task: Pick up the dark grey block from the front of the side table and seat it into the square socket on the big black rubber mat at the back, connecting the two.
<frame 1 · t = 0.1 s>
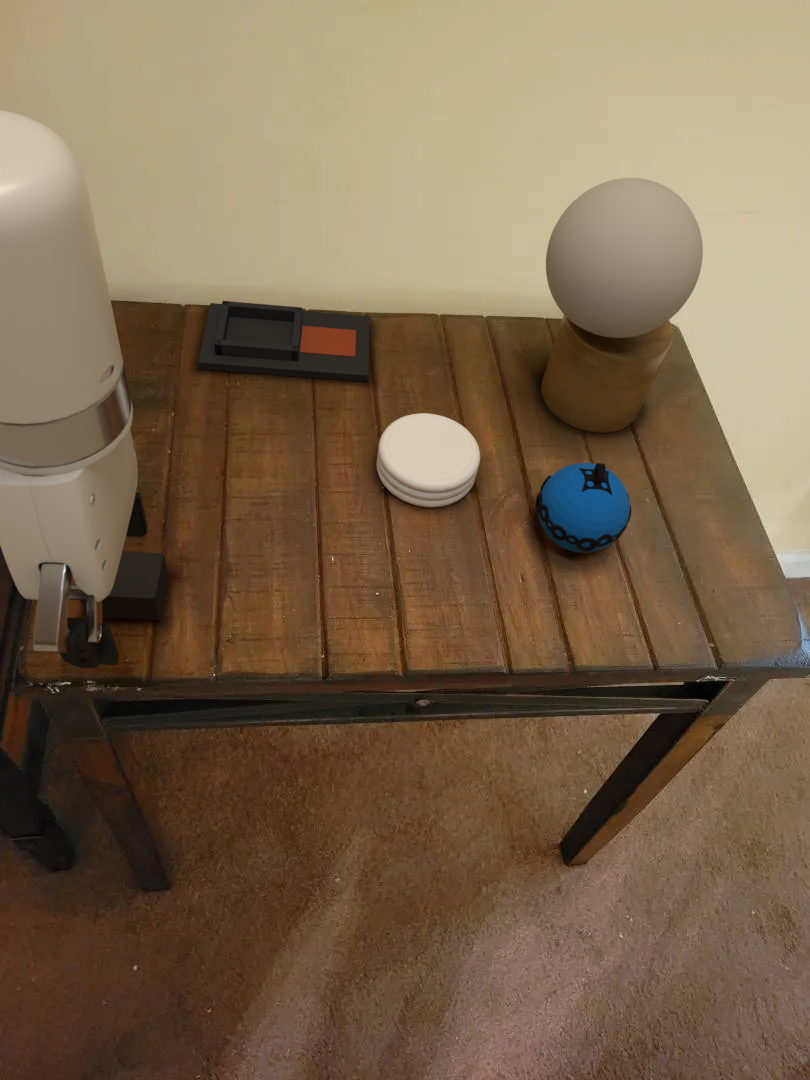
hand: (108, 592, 53), 15 cm above the table, tool pointing down, fingers open, 9 cm apart
coaster: (425, 472, 82), on the table
dark grey block: (128, 596, 70), on the table
lamp: (573, 401, 91), on the table
ornament: (570, 536, 80), on the table
base pad: (287, 345, 91), on the table
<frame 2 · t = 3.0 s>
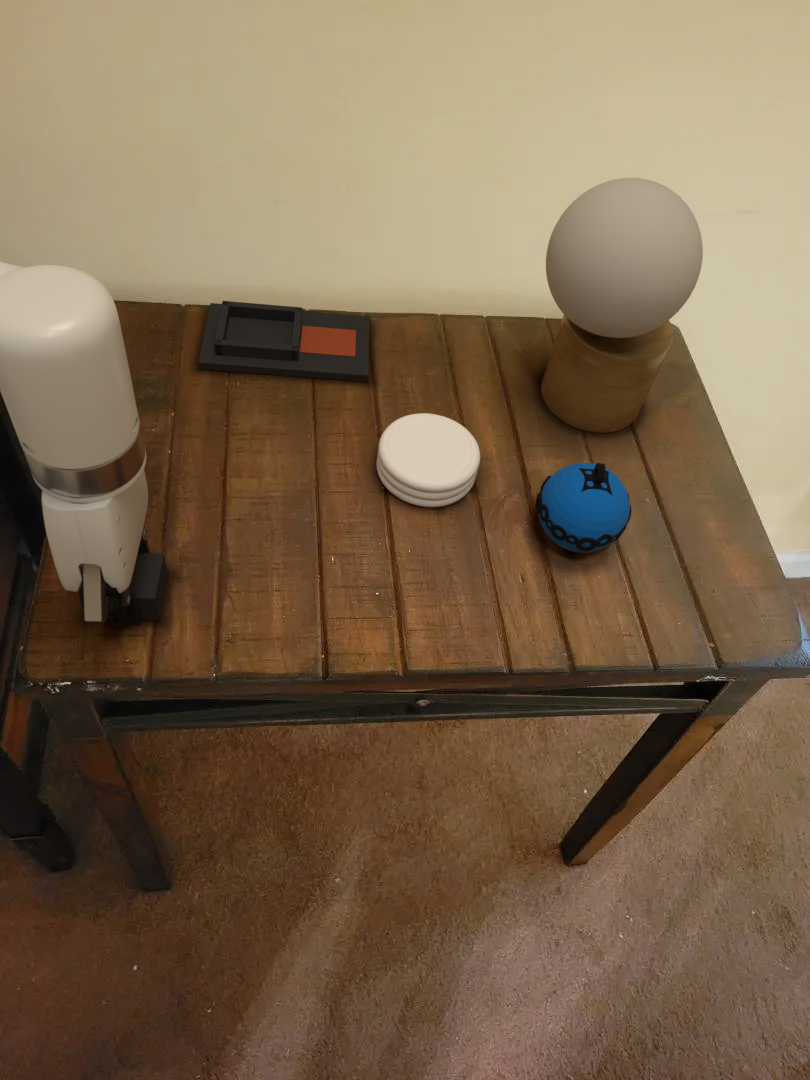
hand: (127, 592, 69), 1 cm above the table, tool pointing down, fingers closed on dark grey block, 4 cm apart
dark grey block: (128, 596, 70), on the table, touching gripper
everything else where it was.
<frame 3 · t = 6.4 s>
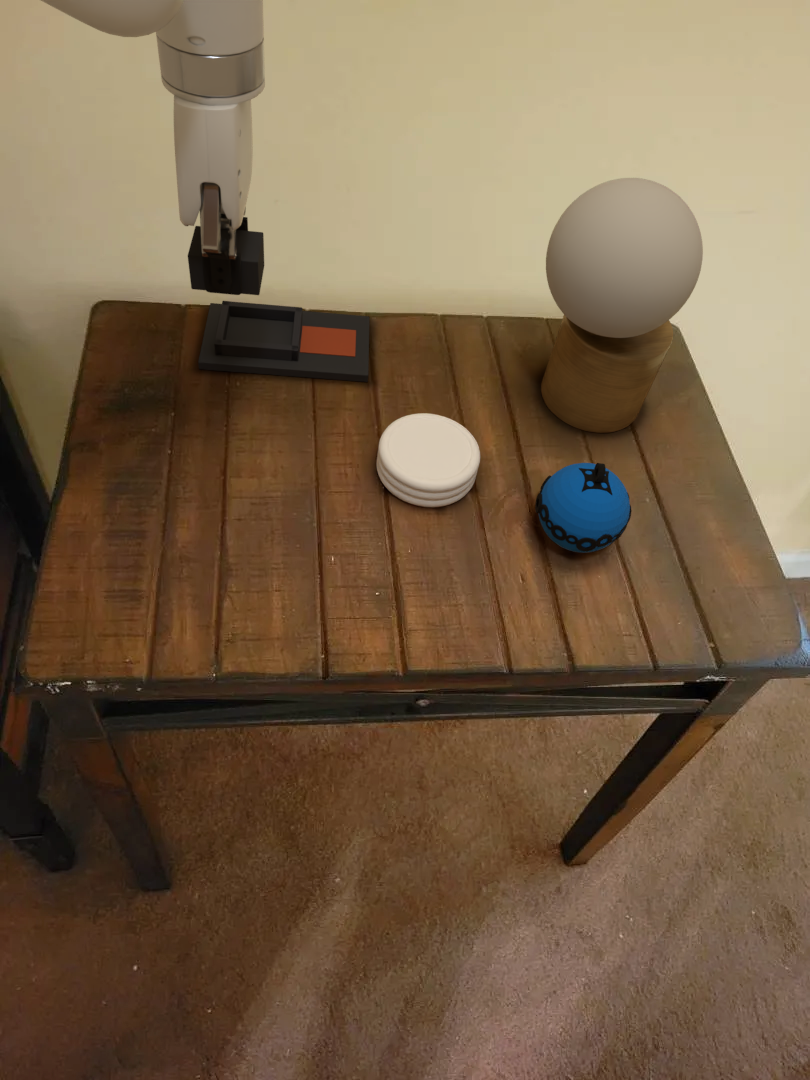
hand: (227, 271, 74), 15 cm above the table, tool pointing down, fingers closed on dark grey block, 4 cm apart
dark grey block: (228, 277, 75), point 14 cm above the table, touching gripper
everything else where it was.
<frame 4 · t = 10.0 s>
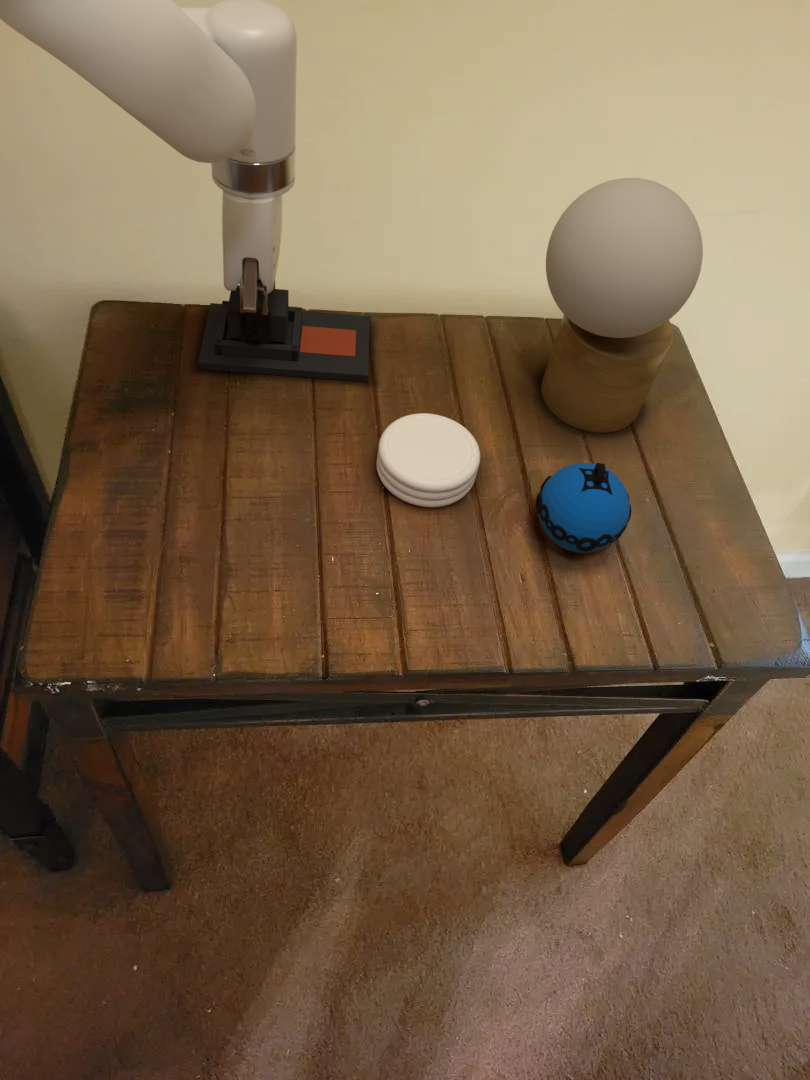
hand: (258, 322, 88), 3 cm above the table, tool pointing down, fingers closed on dark grey block, 4 cm apart
dark grey block: (259, 327, 89), point 2 cm above the table, touching gripper
everything else where it was.
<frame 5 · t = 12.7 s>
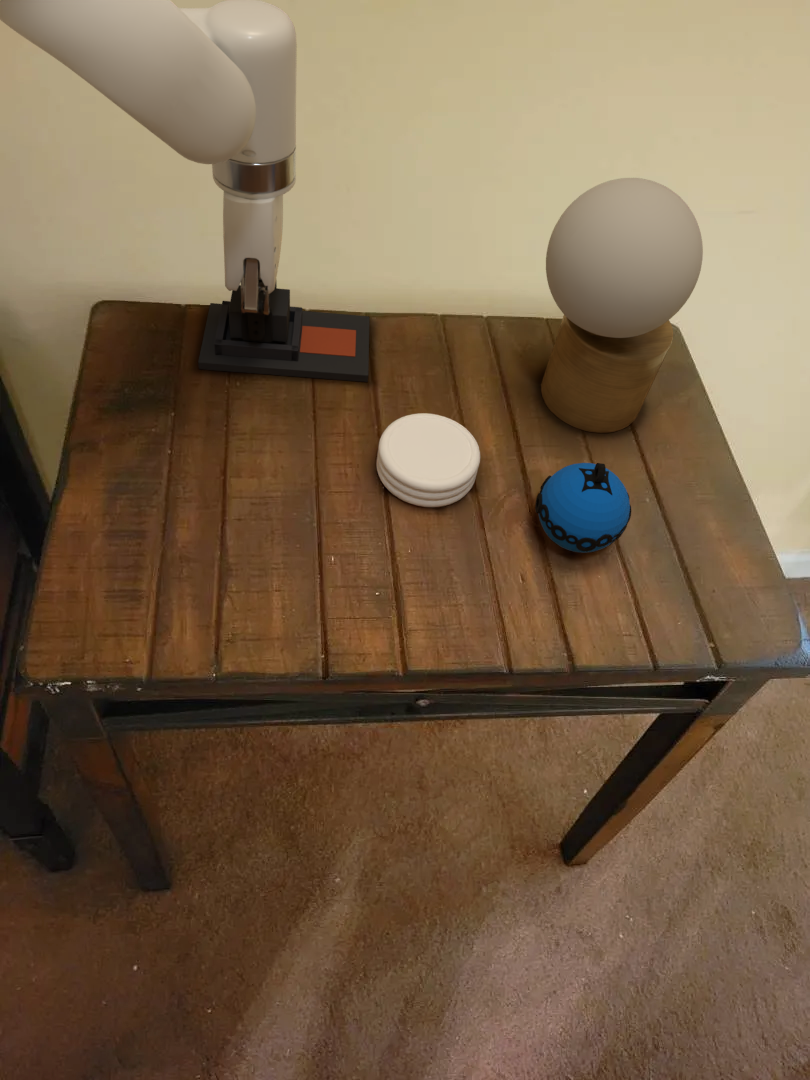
hand: (259, 322, 89), 3 cm above the table, tool pointing down, fingers closed on dark grey block, 4 cm apart
dark grey block: (260, 326, 89), point 2 cm above the table, touching gripper
everything else where it was.
when the fingers open (3 cm above the table, at t = 15.2 s): dark grey block drops 2 cm, resting on base pad.
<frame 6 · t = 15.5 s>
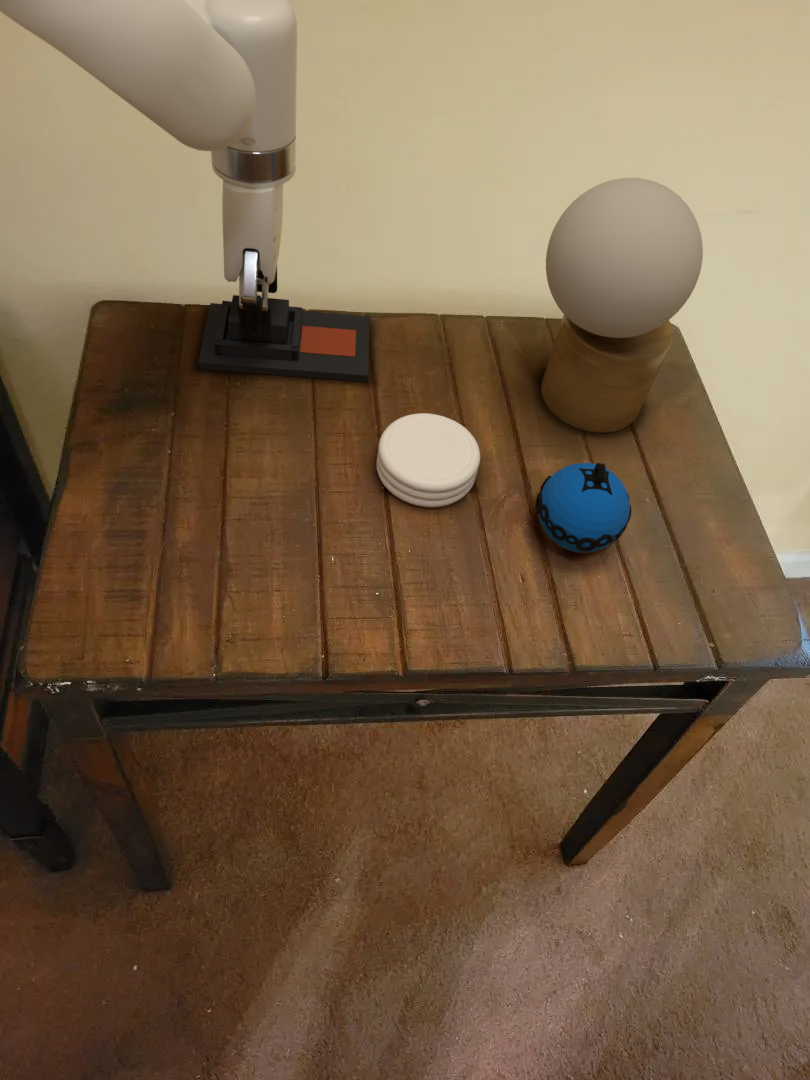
hand: (259, 311, 87), 4 cm above the table, tool pointing down, fingers open, 7 cm apart
dark grey block: (260, 336, 90), point 1 cm above the table, touching base pad
everything else where it was.
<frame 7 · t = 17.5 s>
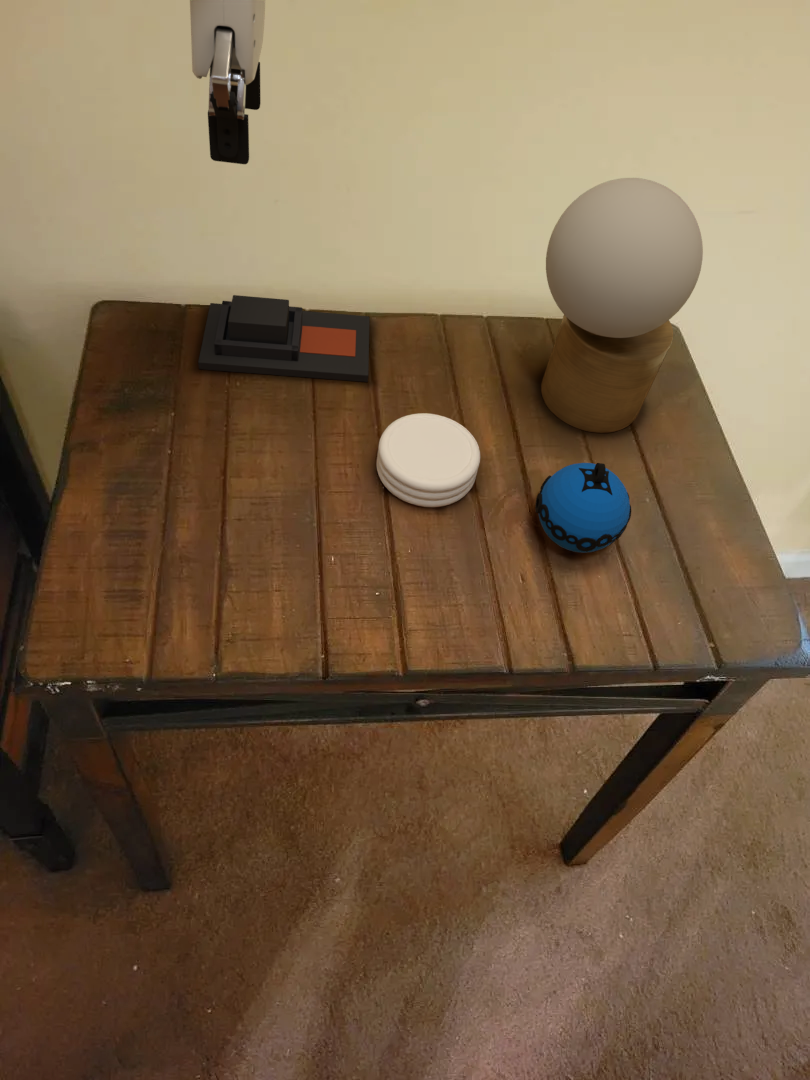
hand: (236, 132, 73), 23 cm above the table, tool pointing down, fingers open, 9 cm apart
nothing on the table moved.
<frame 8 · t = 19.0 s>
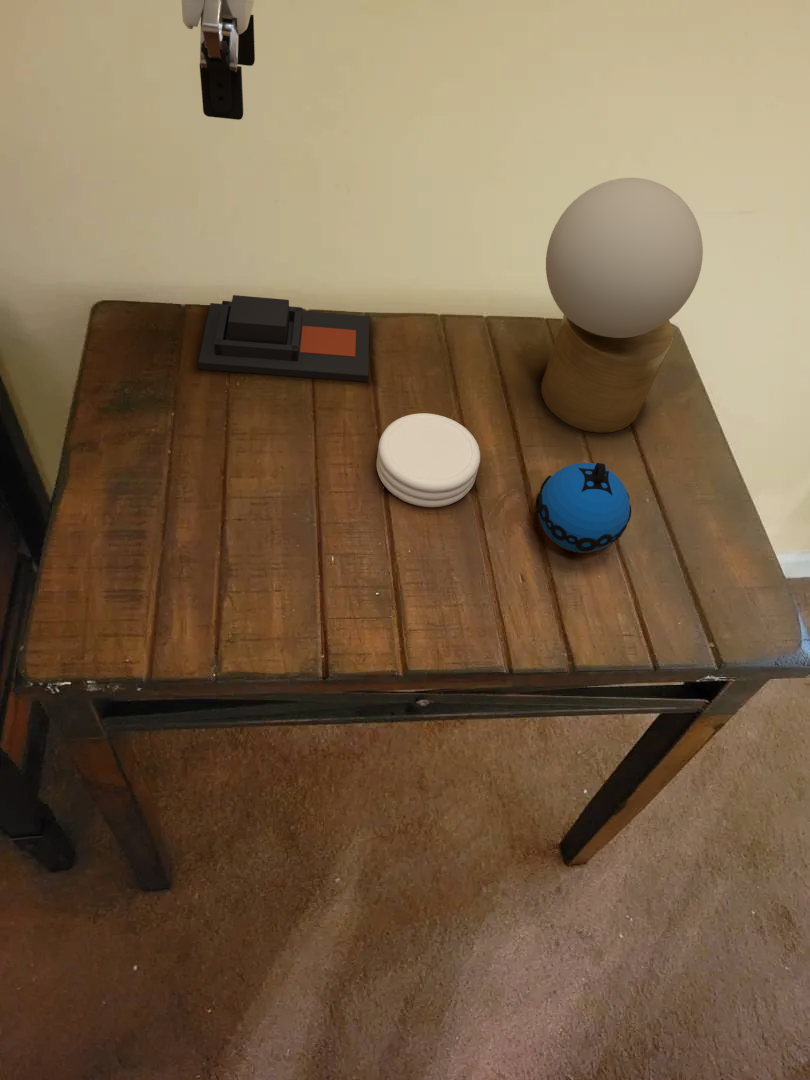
hand: (230, 88, 71), 26 cm above the table, tool pointing down, fingers open, 9 cm apart
nothing on the table moved.
at the end: dark grey block 0.1 cm from the target spot on the base pad, point 1.0 cm above the base pad's base; dark grey block tilted 0°; the gripper is holding nothing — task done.
